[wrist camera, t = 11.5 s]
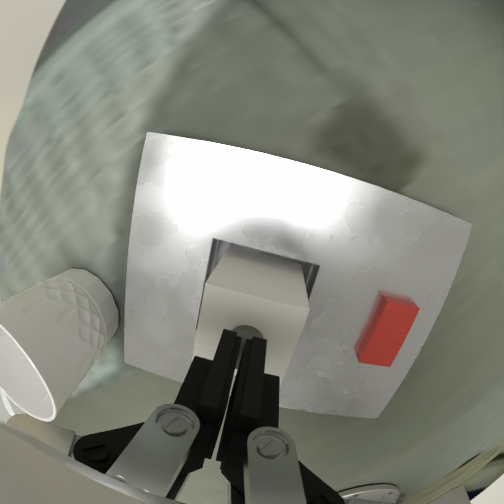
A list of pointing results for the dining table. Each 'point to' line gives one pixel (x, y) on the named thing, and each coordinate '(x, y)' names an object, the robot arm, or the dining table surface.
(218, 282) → the plug
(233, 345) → the robot arm
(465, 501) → the paper bag
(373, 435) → the dining table surface
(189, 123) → the dining table surface
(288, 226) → the socket plate
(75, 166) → the dining table surface
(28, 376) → the white cup
